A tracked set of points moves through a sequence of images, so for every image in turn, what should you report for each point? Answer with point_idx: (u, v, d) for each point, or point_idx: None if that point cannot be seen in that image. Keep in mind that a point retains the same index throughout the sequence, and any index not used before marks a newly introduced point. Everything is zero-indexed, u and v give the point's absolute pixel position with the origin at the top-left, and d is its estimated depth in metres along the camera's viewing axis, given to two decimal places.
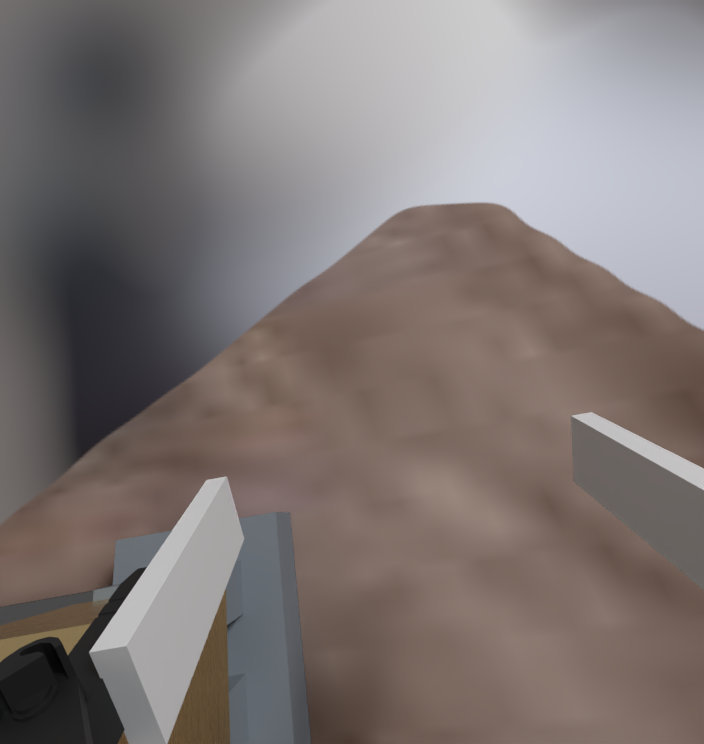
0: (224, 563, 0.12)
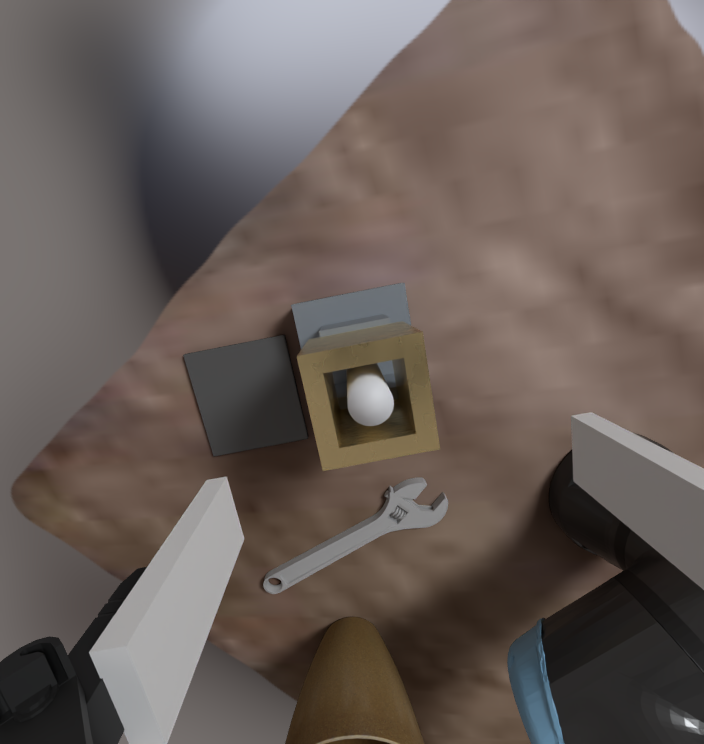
0: (224, 563, 0.12)
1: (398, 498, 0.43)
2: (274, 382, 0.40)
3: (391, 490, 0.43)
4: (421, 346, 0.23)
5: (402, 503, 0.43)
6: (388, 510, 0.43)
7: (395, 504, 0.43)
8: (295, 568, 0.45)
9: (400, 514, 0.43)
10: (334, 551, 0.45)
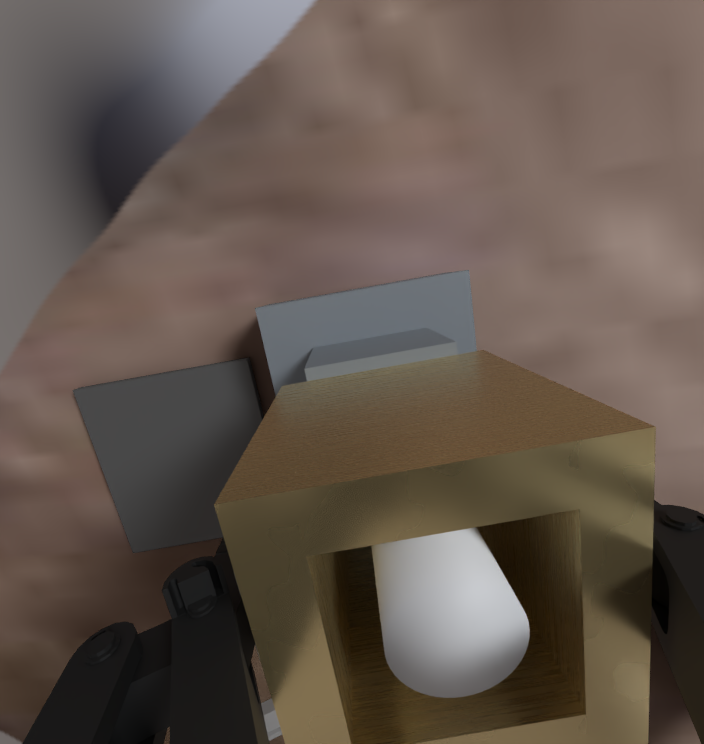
0: None
1: None
2: (232, 437, 0.24)
3: None
4: (644, 474, 0.07)
5: None
6: None
7: None
8: (266, 720, 0.29)
9: None
10: None
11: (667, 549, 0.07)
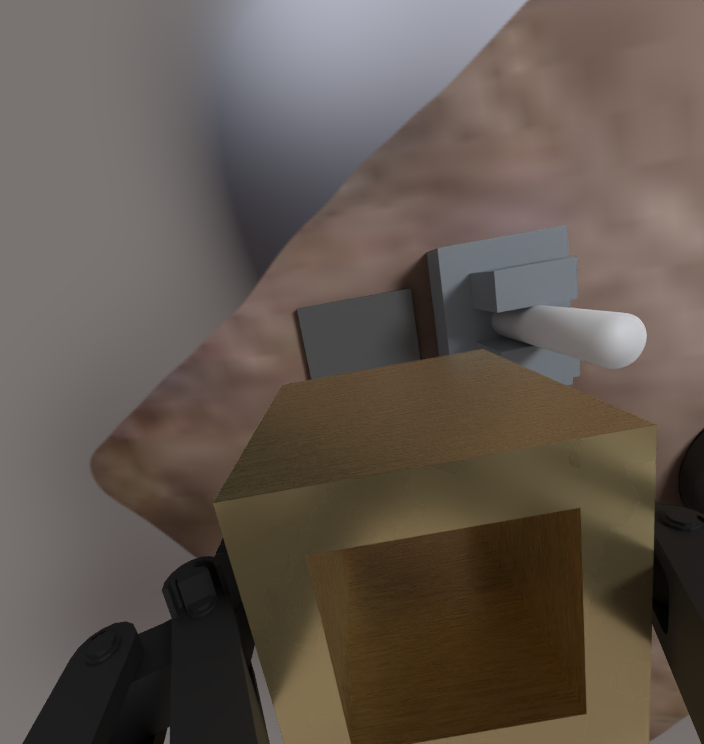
0: None
1: None
2: (395, 342, 0.36)
3: None
4: (645, 473, 0.07)
5: None
6: None
7: None
8: None
9: None
10: None
11: (667, 549, 0.07)
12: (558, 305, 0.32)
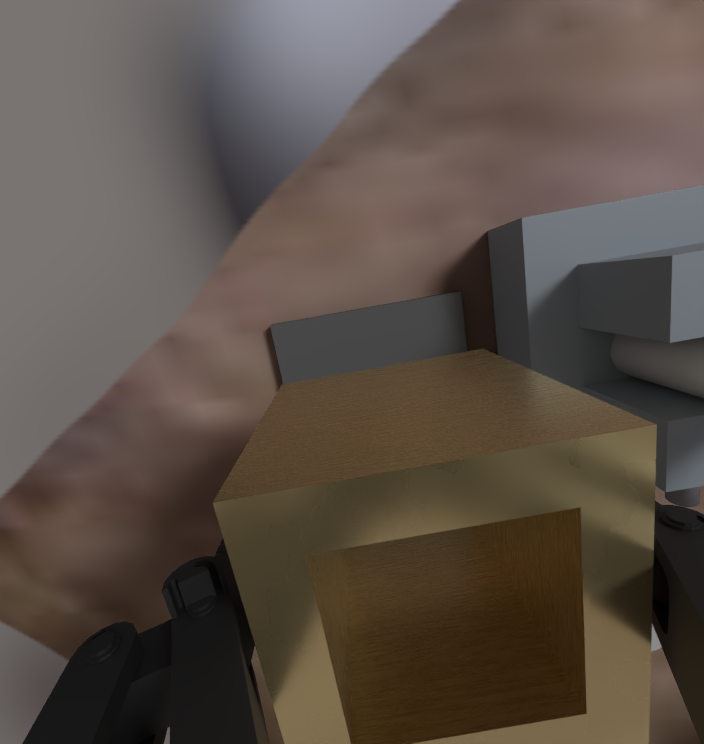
0: None
1: None
2: None
3: None
4: (645, 472, 0.07)
5: None
6: None
7: None
8: None
9: None
10: None
11: (667, 549, 0.07)
12: None
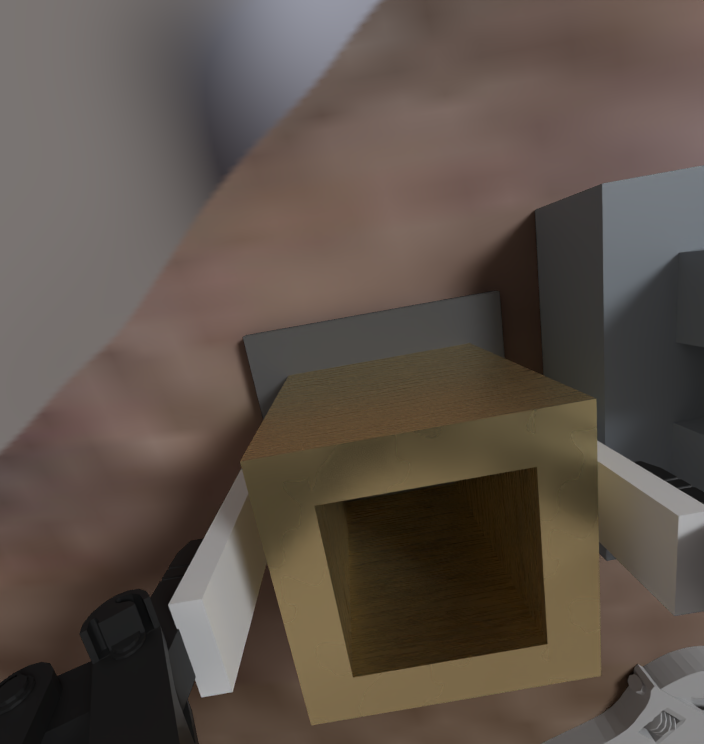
0: None
1: (667, 698, 0.20)
2: None
3: (651, 681, 0.20)
4: (588, 437, 0.08)
5: (674, 706, 0.20)
6: (642, 720, 0.21)
7: (659, 709, 0.20)
8: None
9: (665, 725, 0.21)
10: None
11: None
12: None
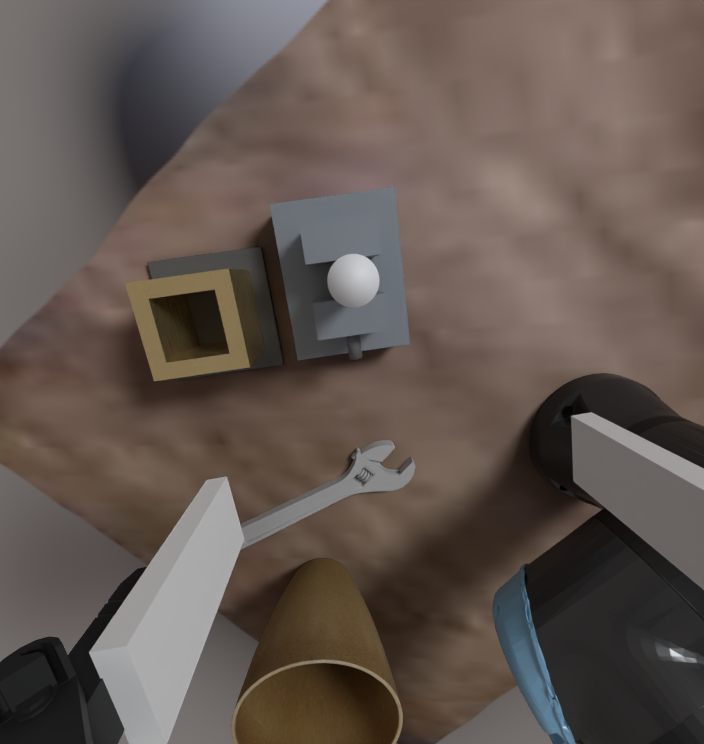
0: (224, 563, 0.12)
1: (365, 460, 0.42)
2: None
3: (358, 451, 0.42)
4: (228, 280, 0.28)
5: (369, 465, 0.42)
6: (354, 472, 0.42)
7: (361, 466, 0.42)
8: (254, 527, 0.44)
9: (366, 476, 0.42)
10: (296, 511, 0.43)
11: None
12: (391, 266, 0.33)
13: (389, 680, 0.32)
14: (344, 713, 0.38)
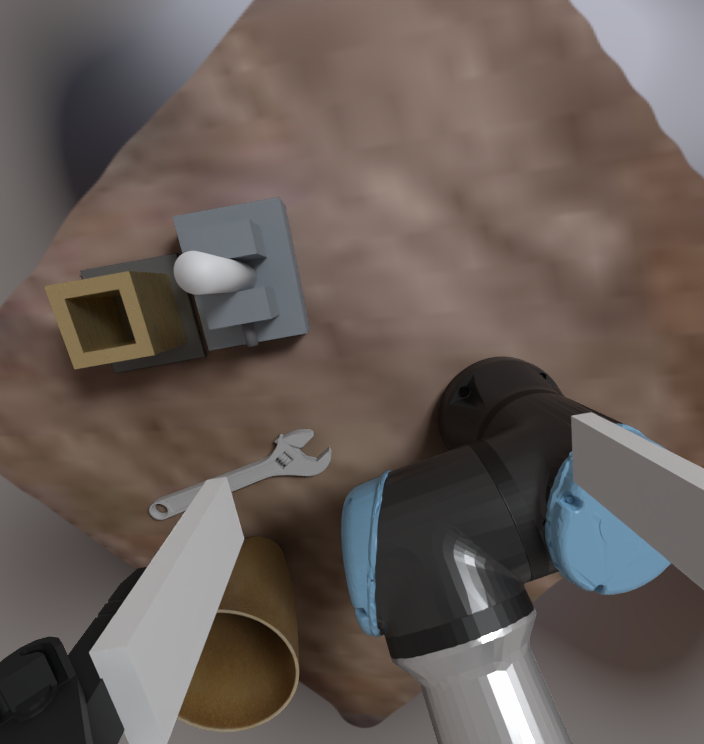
0: (224, 563, 0.12)
1: (285, 445, 0.46)
2: None
3: (280, 436, 0.46)
4: (129, 281, 0.34)
5: (289, 450, 0.46)
6: (275, 455, 0.46)
7: (282, 450, 0.46)
8: (182, 498, 0.48)
9: (286, 460, 0.47)
10: None
11: None
12: (283, 265, 0.38)
13: (284, 631, 0.36)
14: (263, 672, 0.42)
